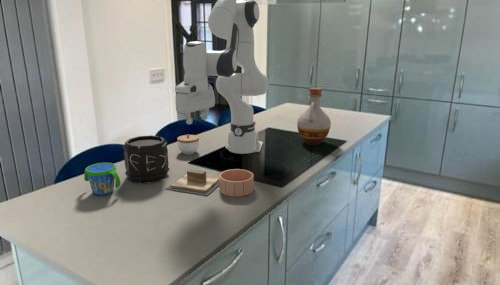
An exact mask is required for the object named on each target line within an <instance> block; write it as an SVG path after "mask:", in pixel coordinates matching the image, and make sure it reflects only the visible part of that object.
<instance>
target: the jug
mask: <svg viewBox="0 0 500 285" xmlns="http://www.w3.org/2000/svg"><path fill="white" fill-rule="evenodd" d="M308 89H309V94H308V95H309V96H308V97H309V99H310V105H309V107H308V108H307V109H306V110H304V111H303V112H302V113H301V114H300V115H299V117H298V118H297V122H296V124H297V131H298V135H299V137H300V138H301V139H302V141H303V142H304V143H305V144H306V145H308V146H319V145H321V143H323V142H324V140H325V139H326V138H327V137H328V134H329V133H330V130H331V124H332V122H331V119H330V116H328V115H327V113H326V112H325V111H323V109H322V108H321V106H320V101H321V97H322V91H323V88H319V87H317V88H316V87H310V88H308Z"/></svg>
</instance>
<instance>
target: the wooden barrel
mask: <svg viewBox="0 0 500 285" xmlns="http://www.w3.org/2000/svg"><path fill="white" fill-rule="evenodd" d="M122 149H123V159H124V167H125V172H124V173H125V176H126V177H127V178H128V179H129V180H130V182H132V183H136V184H141V185H142V184H151V183H153V184H154V183H157V182H159V181H163V180H164V179H165V178H166V177H167V176H168V172H170V168H169V155H168V153H169V152H168V151H169V150H168V142H167V141H166V139H165V138H163V137H162V136H159V135H152V134H151V135H140V136H135V137H130V138H128V139H127V140H126V141H125V142H124V145H122Z"/></svg>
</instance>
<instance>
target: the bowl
mask: <svg viewBox="0 0 500 285" xmlns="http://www.w3.org/2000/svg"><path fill="white" fill-rule="evenodd" d="M218 176H219V186H218V189H219V192H220V194H222V195H224V196H227V197H229V198H233V197H234V198H240V197H242V198H243V197H246V196H249V195H251V194H252V193H253V192H254V187H255V186H254V184H255V176H254V173H253V172H252V171H250V170H247V169H242V168H241V169H240V168H234V169H233V168H231V169H227V170H223V171H221V172H220V173H219V174H218Z"/></svg>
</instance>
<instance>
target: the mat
mask: <svg viewBox="0 0 500 285" xmlns="http://www.w3.org/2000/svg"><path fill="white" fill-rule="evenodd" d="M185 174H187V172H186V173H185ZM185 174H183V175H182V176H181V177H183V176H184V175H185ZM181 177H179V178H178V179H177V180H179V179H180V178H181ZM177 180H175V181H174V182H176V181H177ZM174 182H172V183H171V184H169V186H167V187H166V188H165V190H166V191H167V190H168V191H174V192H178V193H179V192H180V193H185V194H186V193H187V194H193V195H199V196H203V197H205V196H206V197H208V196H209V195H211V194H212V193H213V192H214V191H215V190H216V189H217V188H219V181H218V182H217V183H216V184H215V185H214V186H213V187H212V188H211V189H210V190H208V191H207V192H206V193H203V192H197V191H190V190H184V189H177V188H171V185H172V184H173V183H174Z"/></svg>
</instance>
